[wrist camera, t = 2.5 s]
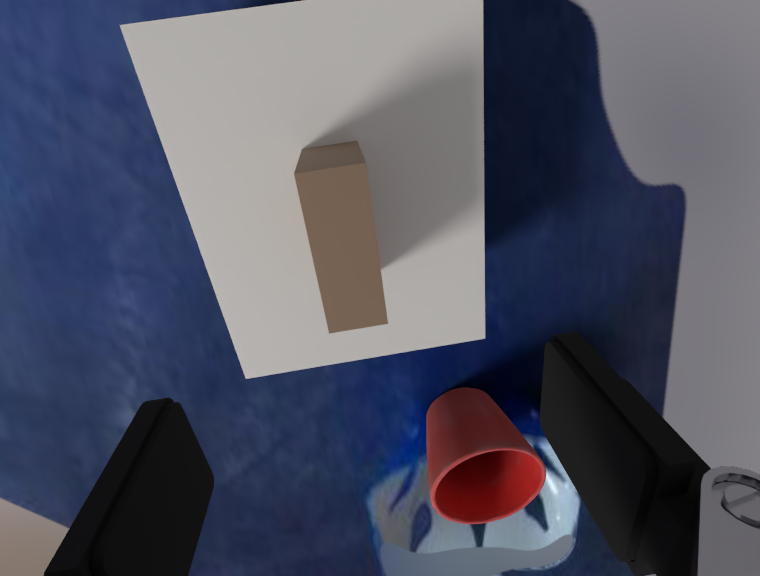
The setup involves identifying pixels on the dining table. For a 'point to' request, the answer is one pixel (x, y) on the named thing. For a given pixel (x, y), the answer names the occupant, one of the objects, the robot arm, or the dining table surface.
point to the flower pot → (478, 459)
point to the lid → (328, 171)
